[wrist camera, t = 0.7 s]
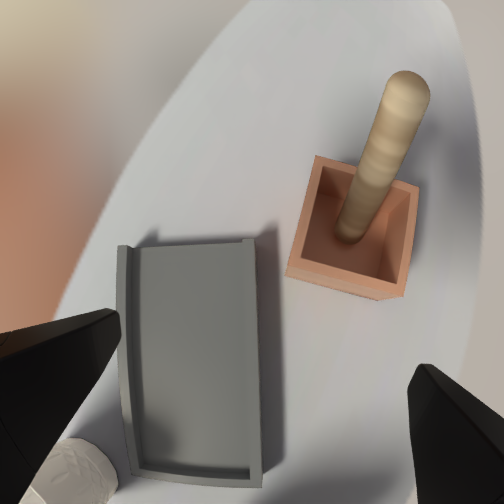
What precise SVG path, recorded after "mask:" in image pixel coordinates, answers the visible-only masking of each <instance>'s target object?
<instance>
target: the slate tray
mask: <svg viewBox="0 0 504 504" xmlns="http://www.w3.org/2000/svg"><path fill="white" fill-rule="evenodd" d="M116 311H117V312H118V313H119V315H120V323H121V332H122V337H121V340H120V343H119V344H118V346H117V359H118V375H119V387H120V398H121V408H122V417H123V425H124V432H125V439H126V446H127V452H128V458H129V464H130V469H131V474H132V475H134V476H139V477H144V478H150V479H155V480H162V481H168V482H175V483H183V484H191V485H201V486H214V487H231V488H262V480H263V457H262V421H261V387H260V354H259V323H258V292H257V262H256V244H255V240H254V238H253V239H242V242H241V243H220V244H199V245H180V246H161V247H142V248H132V247H130V246H128V245H121V246H118V250H117V273H116Z"/></svg>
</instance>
